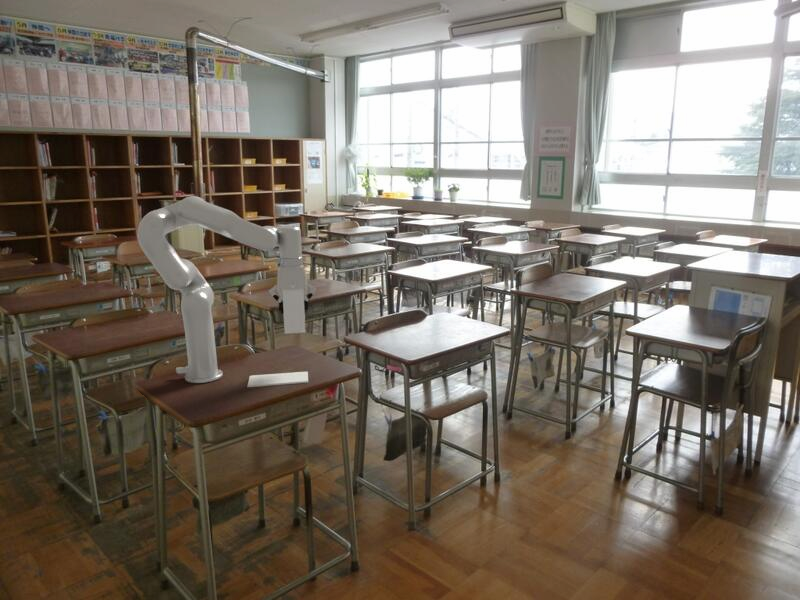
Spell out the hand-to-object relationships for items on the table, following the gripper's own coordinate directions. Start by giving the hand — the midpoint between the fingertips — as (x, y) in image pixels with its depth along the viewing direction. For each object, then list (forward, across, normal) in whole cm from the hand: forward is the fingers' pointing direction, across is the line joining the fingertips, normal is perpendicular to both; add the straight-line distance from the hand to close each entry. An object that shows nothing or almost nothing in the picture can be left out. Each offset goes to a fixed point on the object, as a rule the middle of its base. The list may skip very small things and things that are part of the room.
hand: (293, 312), depth 214 cm
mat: (+22, -6, -9) cm, 24 cm away
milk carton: (+7, 0, 0) cm, 7 cm away
